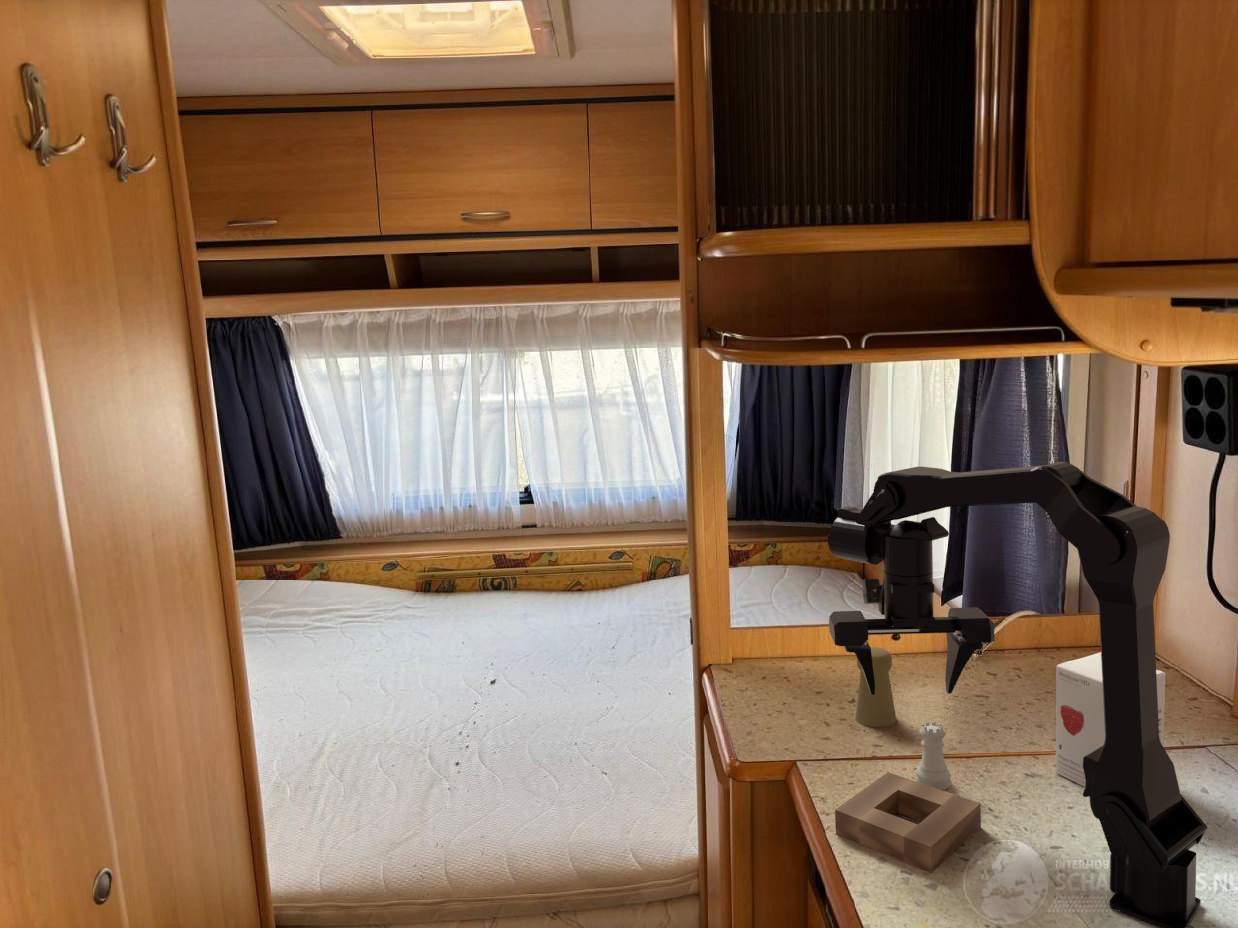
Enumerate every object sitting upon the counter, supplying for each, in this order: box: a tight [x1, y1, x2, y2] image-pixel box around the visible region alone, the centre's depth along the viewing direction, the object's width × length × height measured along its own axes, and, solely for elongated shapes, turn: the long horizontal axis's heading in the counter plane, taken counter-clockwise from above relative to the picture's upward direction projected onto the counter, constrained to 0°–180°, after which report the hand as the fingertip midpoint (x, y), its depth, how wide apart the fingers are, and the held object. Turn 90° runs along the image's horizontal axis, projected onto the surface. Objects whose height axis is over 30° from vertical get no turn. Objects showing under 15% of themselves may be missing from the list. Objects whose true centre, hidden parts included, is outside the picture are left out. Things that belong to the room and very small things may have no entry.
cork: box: [855, 646, 897, 728], centre depth 134 cm, size 6×6×11 cm
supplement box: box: [1055, 651, 1167, 788], centre depth 112 cm, size 9×9×15 cm
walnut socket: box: [834, 771, 982, 873], centre depth 104 cm, size 12×12×3 cm
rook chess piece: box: [914, 721, 953, 791], centre depth 114 cm, size 4×4×8 cm
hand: (910, 693), depth 109 cm, fingers open, 9 cm apart
